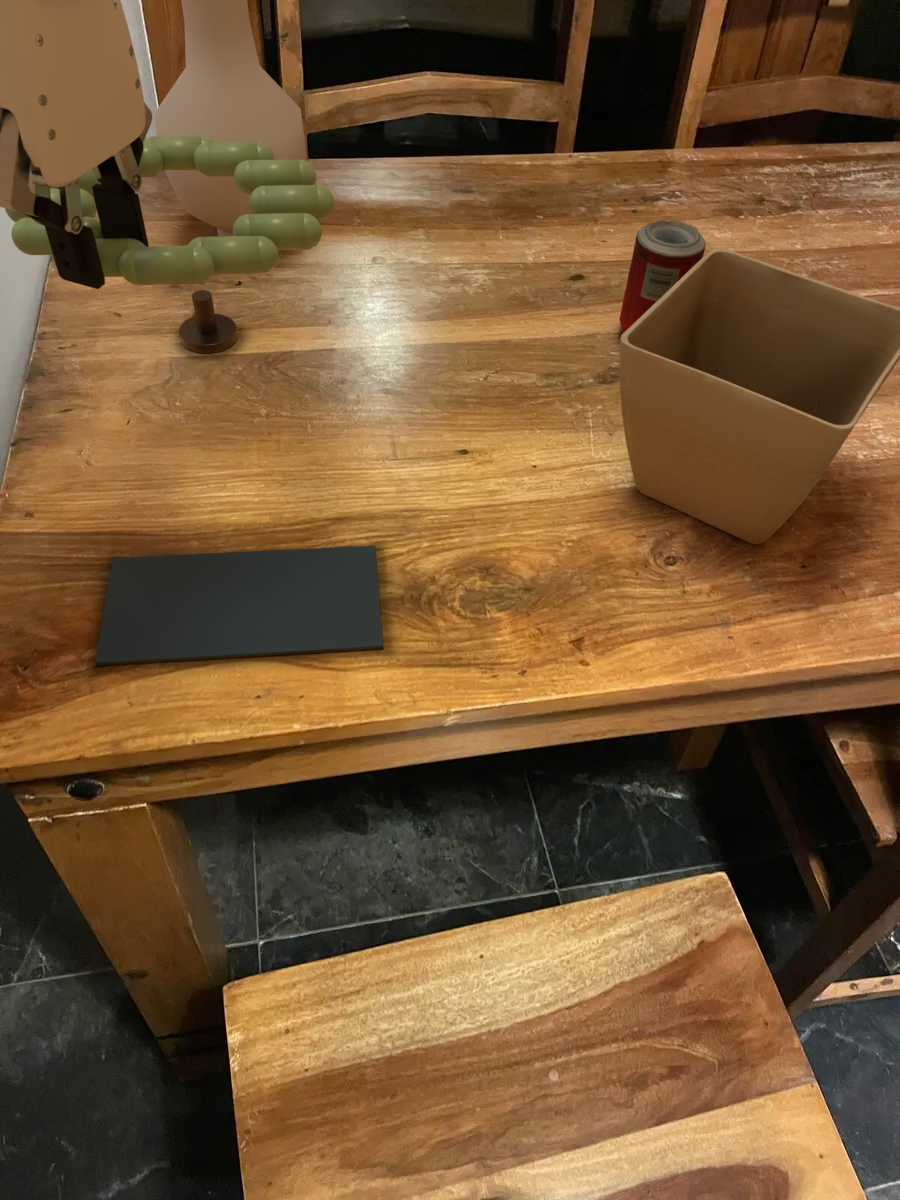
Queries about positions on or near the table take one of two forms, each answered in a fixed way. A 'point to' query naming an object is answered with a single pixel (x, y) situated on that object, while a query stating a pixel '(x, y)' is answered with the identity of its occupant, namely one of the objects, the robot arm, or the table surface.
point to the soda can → (658, 265)
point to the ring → (277, 223)
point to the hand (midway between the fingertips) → (105, 261)
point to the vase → (225, 107)
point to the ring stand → (207, 327)
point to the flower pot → (748, 388)
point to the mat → (240, 605)
